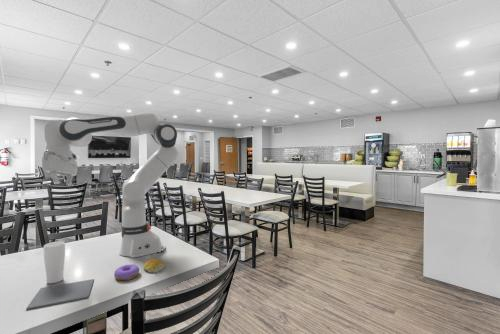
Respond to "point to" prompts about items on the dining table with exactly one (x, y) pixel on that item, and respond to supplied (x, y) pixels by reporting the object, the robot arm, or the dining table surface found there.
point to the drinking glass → (54, 261)
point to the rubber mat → (61, 294)
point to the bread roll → (154, 265)
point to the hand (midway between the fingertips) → (63, 183)
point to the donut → (126, 272)
